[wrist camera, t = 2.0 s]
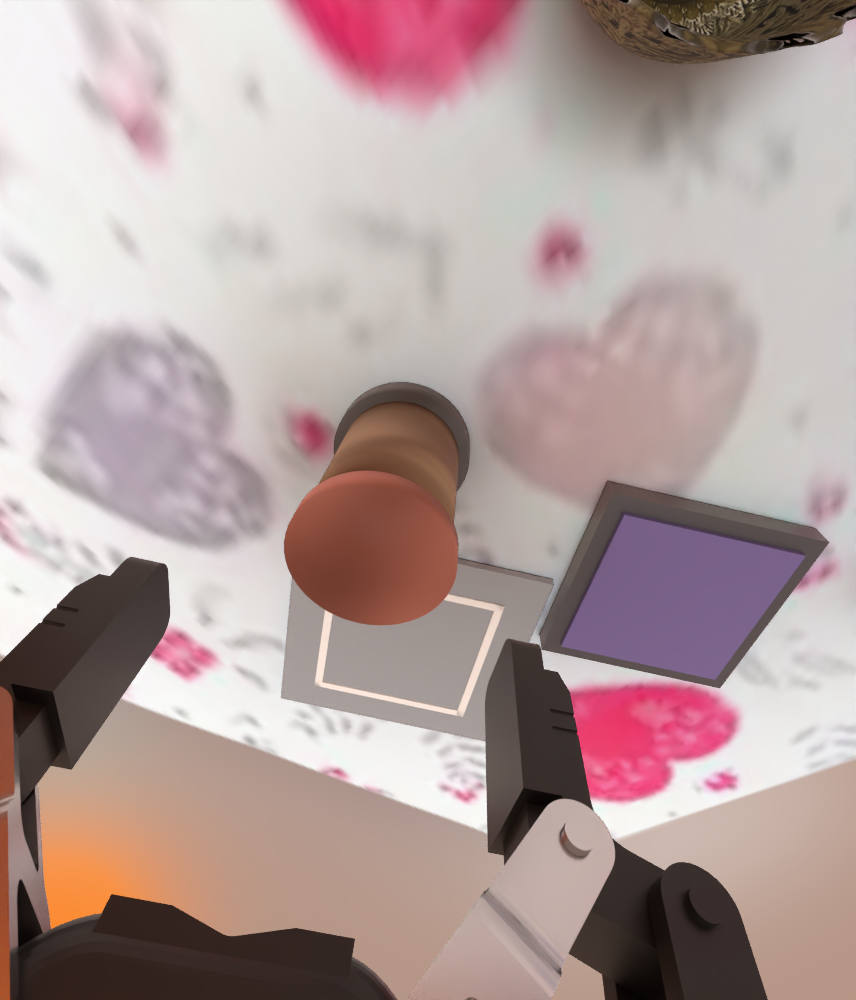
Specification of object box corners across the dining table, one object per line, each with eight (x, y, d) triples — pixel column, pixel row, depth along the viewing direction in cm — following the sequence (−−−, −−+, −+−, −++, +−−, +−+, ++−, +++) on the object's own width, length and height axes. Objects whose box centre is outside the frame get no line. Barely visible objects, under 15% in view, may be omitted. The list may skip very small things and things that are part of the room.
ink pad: (815, 528, 22) (832, 545, 21) (712, 672, 27) (721, 692, 26) (607, 481, 22) (614, 496, 21) (539, 634, 26) (542, 653, 25)
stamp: (484, 399, 20) (486, 503, 14) (453, 513, 23) (441, 645, 17) (348, 368, 20) (282, 458, 14) (332, 486, 23) (272, 609, 16)
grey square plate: (552, 579, 25) (553, 586, 24) (485, 735, 31) (485, 742, 30) (299, 523, 24) (296, 529, 24) (283, 692, 30) (280, 699, 30)
